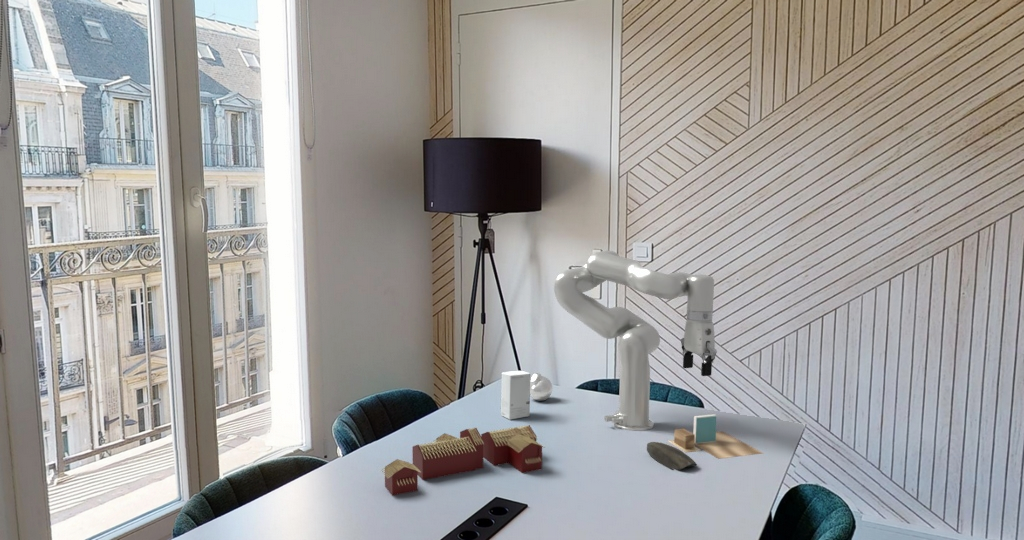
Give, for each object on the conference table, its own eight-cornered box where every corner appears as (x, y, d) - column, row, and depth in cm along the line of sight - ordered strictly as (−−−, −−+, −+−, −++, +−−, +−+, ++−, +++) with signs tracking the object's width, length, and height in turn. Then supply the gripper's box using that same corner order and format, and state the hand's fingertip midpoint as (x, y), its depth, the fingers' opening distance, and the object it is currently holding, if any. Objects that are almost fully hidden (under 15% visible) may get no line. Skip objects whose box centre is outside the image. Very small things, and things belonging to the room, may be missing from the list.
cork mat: (718, 460, 199) (718, 458, 199) (680, 437, 218) (680, 435, 217) (763, 455, 203) (763, 453, 203) (722, 432, 222) (722, 431, 222)
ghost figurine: (527, 396, 261) (527, 369, 260) (552, 397, 260) (553, 370, 259) (525, 403, 252) (525, 375, 251) (551, 404, 251) (552, 376, 250)
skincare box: (509, 420, 233) (509, 375, 232) (499, 415, 238) (500, 372, 237) (530, 416, 238) (531, 372, 236) (520, 411, 243) (521, 368, 241)
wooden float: (685, 455, 203) (686, 438, 203) (667, 443, 213) (668, 427, 212) (701, 453, 205) (701, 436, 204) (682, 442, 214) (682, 426, 214)
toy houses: (518, 446, 210) (518, 413, 208) (553, 470, 191) (553, 434, 190) (368, 472, 189) (367, 435, 188) (391, 502, 171) (391, 461, 170)
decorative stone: (699, 471, 191) (700, 456, 191) (681, 476, 188) (681, 460, 188) (658, 451, 206) (659, 437, 206) (640, 455, 203) (641, 441, 203)
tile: (695, 444, 210) (696, 417, 209) (693, 442, 212) (694, 416, 211) (716, 441, 212) (717, 415, 212) (713, 440, 214) (714, 414, 213)
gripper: (727, 320, 207) (724, 378, 209) (693, 310, 223) (691, 364, 225) (705, 321, 205) (702, 379, 206) (673, 311, 221) (670, 365, 223)
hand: (696, 371), depth 216 cm, fingers open, 9 cm apart
